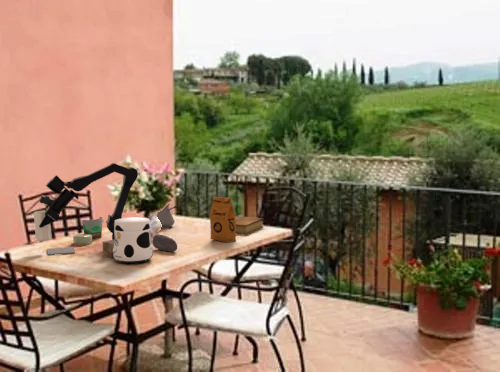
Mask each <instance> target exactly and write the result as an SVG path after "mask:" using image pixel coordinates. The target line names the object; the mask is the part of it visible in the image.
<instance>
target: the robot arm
mask: <svg viewBox="0 0 500 372" xmlns="http://www.w3.org/2000/svg"><path fill="white" fill-rule="evenodd" d="M113 173H116V174H120V175H122V176H123V177H122V186H121V188H120V192H119V195H118V198H117V201H116V204H115V208H114V210H113V213H112V214H111V215H110V214H108V215H107V220H106V221H105V223H106V228H107V230H108V231H109V232H110V233H112V235H111V240H115V236H114V223H115V220H117V219H121V218H123V212H124V209H125V206H126V204H127V200H128V197H129V194H130V191H131V188H132V187H133V185H134V184H135V182H136V180H137V178H138V177H139V171H138V170H137V168H135V167H133V166H132V167H131V166H128V167H125V166H123V165H120V164H117V163H115V162H112V163H110V164H109V165H107V166H104V167H102V168H100V169H98V170H95V171H94V172H91V173H89V174H87V175H81V176H78V177H75V178H73V179H71V181H64V180H63V179H61V178H60V176H59V175H54V177H53V178H51V179H50V180H49V181H48V182H47V183H46V185H45V187H47V188H48V189H49V190H50V191H51V192H53V193H54V194H59V195H58V196H57V197H54V198H52V197H50V196H48V195H43V194H41V195H40V198H39V201H38V202H39V203H40V204H44V205H45V206H44V211H46V212H45V217H44V219H43V221H42V222H41V224H40V225H39V227H40V228H41V227H44V226H46V225H48V224H52V223H54V222H57V221H58V220H59V219H60V214H61V212H63V210H65V209H66V208H67V206H68V205H69V204H70V203H71V202H72V201H73V200H74V199H77V200H79V198H80V197H79V195H80V194H79V192H81V191H83V190H84V189H85V188H87V187H88V186H89V185H91V184H93V183H94V182H96V181H99V180H101V179H103V178H105V177H107V176H109V175H111V174H113ZM69 189H70V190H69Z"/></svg>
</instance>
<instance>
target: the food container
mask: <svg viewBox="0 0 500 372" xmlns="http://www.w3.org/2000/svg"><path fill="white" fill-rule="evenodd" d="M103 223H104V219H103V216H99V218H93V219H87V220H85V219H82V221H81V225H82V227H83V228H82V229H83V234H91V235H92V240H98V239H102V234H103ZM97 238H98V239H97Z"/></svg>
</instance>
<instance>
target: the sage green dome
mask: <svg viewBox="0 0 500 372" xmlns="http://www.w3.org/2000/svg"><path fill="white" fill-rule="evenodd" d="M72 238H73V239H72V241H73V245H74V244H75V246H87V244H88V245H91V244H93V239H92V235H91V234H84V233H78V234H74V235H73V236H72Z"/></svg>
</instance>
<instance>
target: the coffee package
mask: <svg viewBox="0 0 500 372" xmlns="http://www.w3.org/2000/svg"><path fill="white" fill-rule="evenodd" d="M212 200H213V201H212V204H211V207H210V211H209V218H210V219H209V221H210V222H209V223H210V240H214V241H217V242H223V243H232V242H236V241H237V239H236V238H237V237H236V236H237V234H236V222H235V216H236V214H235V209H234V205H233V201H232V199H231V197H222V196H221V197H220V196H213V197H212Z"/></svg>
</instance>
